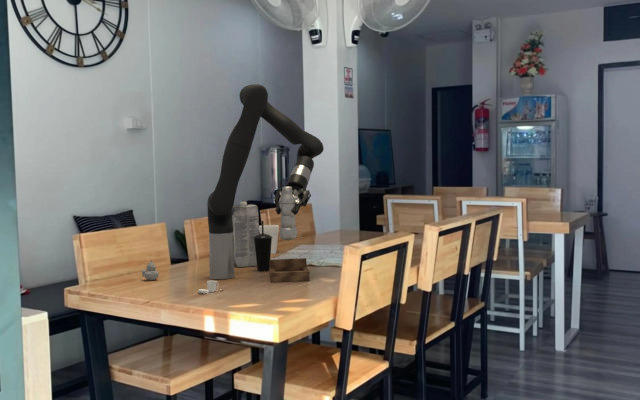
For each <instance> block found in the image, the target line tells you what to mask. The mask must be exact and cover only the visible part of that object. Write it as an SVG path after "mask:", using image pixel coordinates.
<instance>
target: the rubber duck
mask: <svg viewBox="0 0 640 400" xmlns="http://www.w3.org/2000/svg"><path fill="white" fill-rule="evenodd" d="M140 271H141V274H142V278H144V279H146V280H147V281H155V280H157V279H158V277H159V275H160V274H159V272H158V270H157V266H156V265H155V262H154V261H153V260H152V259H151V260H150V261H149V262H148V263H147V265H146V269H142V270H140Z"/></svg>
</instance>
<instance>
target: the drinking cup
mask: <svg viewBox="0 0 640 400" xmlns="http://www.w3.org/2000/svg"><path fill="white" fill-rule="evenodd" d="M263 225H264V220H261V226H262V234H260V233H259V234H258V235H256V236H254V237H253V238H254V242H255V252H256V261H257V266H256V267H257V268H256V269H257V271H258V272H268V271H269V272H270V259H271V256H272V254H271V242H272V236H270V235H268V234H264V226H263Z"/></svg>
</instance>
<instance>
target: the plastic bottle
mask: <svg viewBox="0 0 640 400" xmlns="http://www.w3.org/2000/svg"><path fill="white" fill-rule="evenodd" d="M281 189H282V190H281V191H282V192H283V194H282V196H281V197H280V199H279V205H280V226H279V227H280V228H279V232H278V235H279V237H280V239H281V240H283V241H288V242H289V241H293V240H296V239H297V237H298V236H297V235H298V230H297V225H296V215H294V214H293V208H294V206H295V204H296V198H295V197H294V195H293V194H292V191H293V190H292V187H290V186H288V187H286V186H282V188H281Z"/></svg>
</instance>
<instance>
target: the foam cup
mask: <svg viewBox="0 0 640 400" xmlns="http://www.w3.org/2000/svg"><path fill="white" fill-rule="evenodd" d="M263 226H264V234H268V235H270V236H272V242H271V255H275V254H277V248H278V241H279V240H278V238H279V232H280V228H279V227H280V226H279V225H277V224H263ZM259 234H262V225H259Z"/></svg>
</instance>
